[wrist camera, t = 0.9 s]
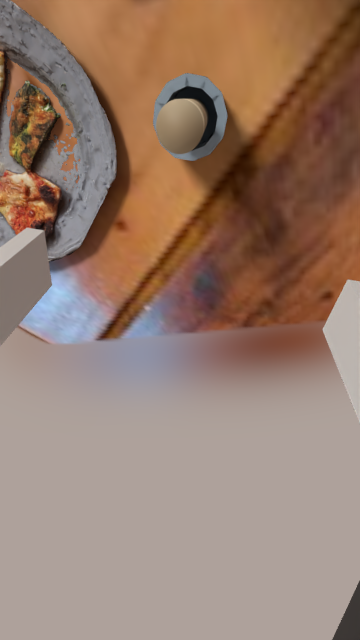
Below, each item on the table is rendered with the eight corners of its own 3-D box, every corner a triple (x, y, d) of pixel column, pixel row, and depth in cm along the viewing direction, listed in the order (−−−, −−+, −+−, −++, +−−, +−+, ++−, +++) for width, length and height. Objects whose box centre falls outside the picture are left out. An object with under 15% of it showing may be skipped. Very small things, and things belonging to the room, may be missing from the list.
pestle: (180, 95, 30) (158, 94, 19) (211, 101, 30) (207, 103, 19) (175, 132, 32) (153, 149, 21) (205, 137, 32) (198, 157, 21)
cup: (166, 71, 30) (158, 67, 26) (232, 84, 30) (234, 82, 26) (158, 146, 33) (150, 153, 29) (217, 157, 33) (217, 165, 29)
